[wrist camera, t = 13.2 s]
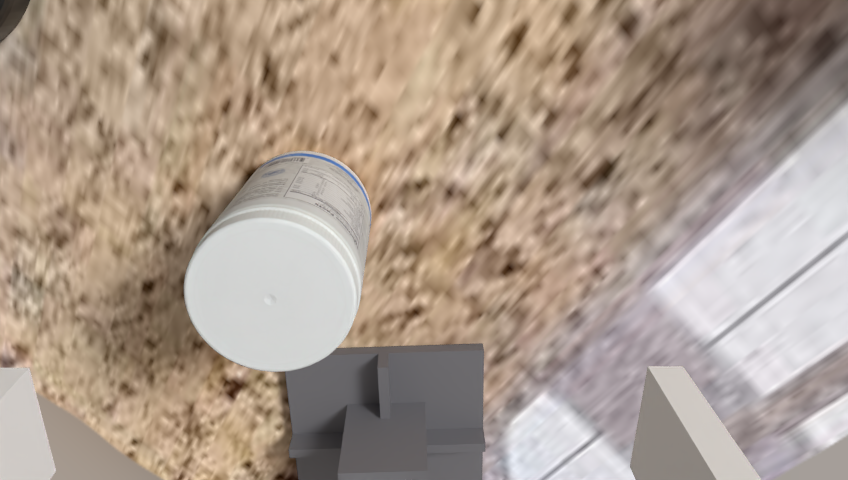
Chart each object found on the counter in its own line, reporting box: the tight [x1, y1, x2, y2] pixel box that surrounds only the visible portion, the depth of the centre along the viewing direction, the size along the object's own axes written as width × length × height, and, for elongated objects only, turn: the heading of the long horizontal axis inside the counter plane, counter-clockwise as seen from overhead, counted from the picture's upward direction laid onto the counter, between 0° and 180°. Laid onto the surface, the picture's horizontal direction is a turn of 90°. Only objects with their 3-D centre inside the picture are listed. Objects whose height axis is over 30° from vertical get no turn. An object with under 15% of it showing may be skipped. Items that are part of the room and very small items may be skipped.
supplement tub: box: [184, 151, 371, 372], centre depth 41 cm, size 10×10×15 cm
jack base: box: [285, 344, 485, 480], centre depth 52 cm, size 16×16×9 cm
